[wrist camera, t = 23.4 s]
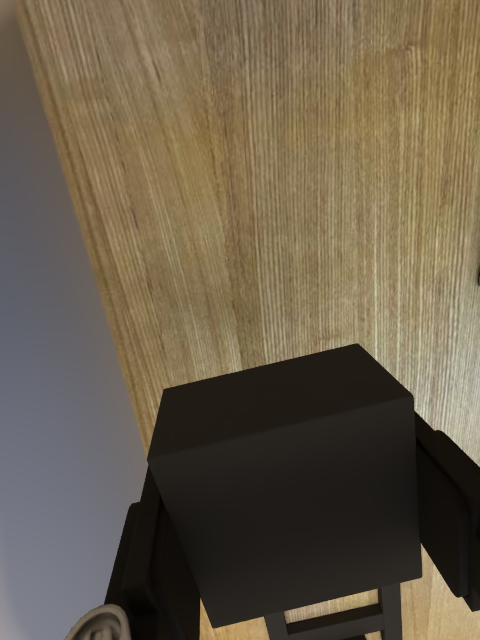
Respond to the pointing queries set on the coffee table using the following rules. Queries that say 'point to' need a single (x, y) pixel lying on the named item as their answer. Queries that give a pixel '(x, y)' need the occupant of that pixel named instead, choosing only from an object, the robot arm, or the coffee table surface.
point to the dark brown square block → (356, 638)
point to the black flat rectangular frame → (345, 621)
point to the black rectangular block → (291, 482)
